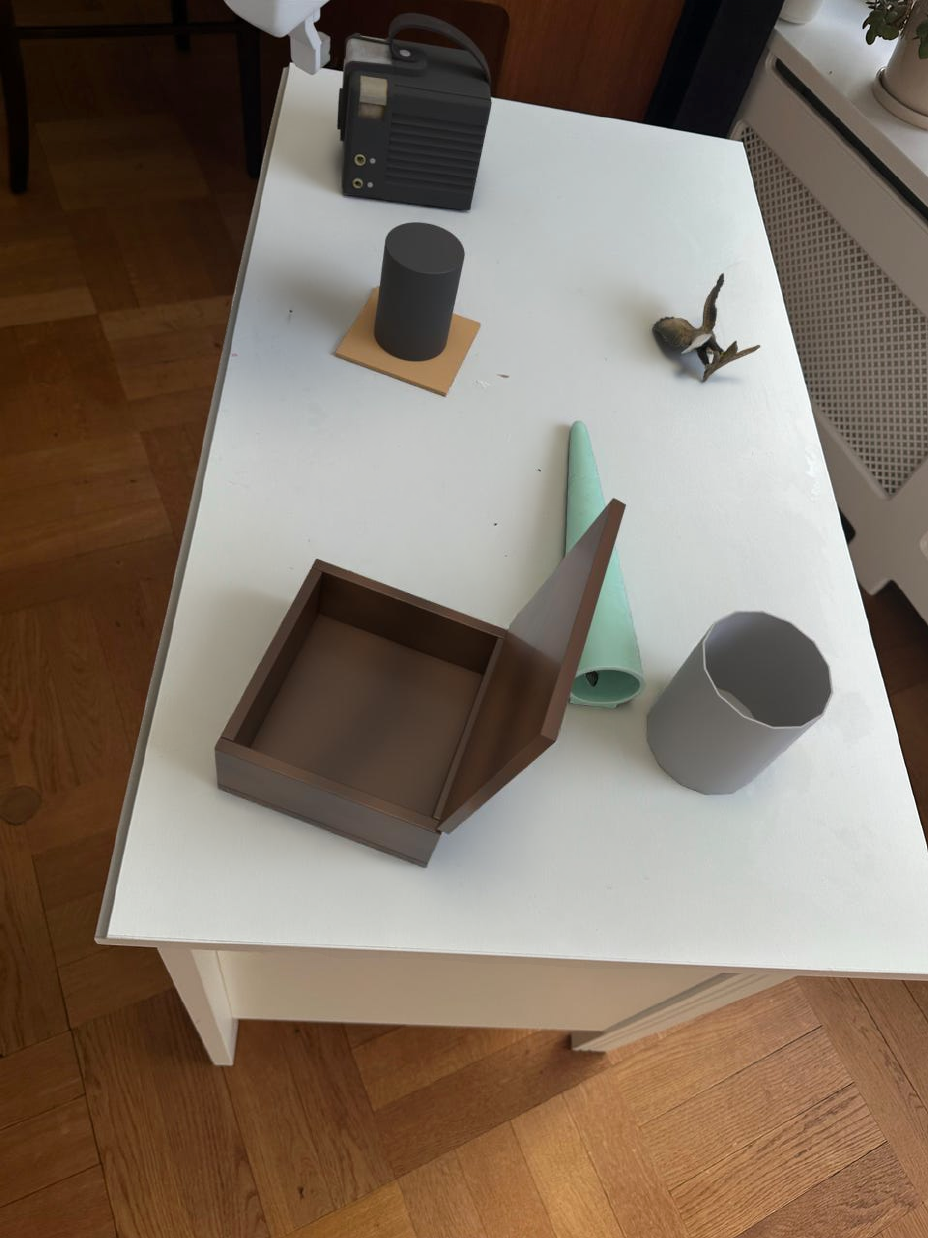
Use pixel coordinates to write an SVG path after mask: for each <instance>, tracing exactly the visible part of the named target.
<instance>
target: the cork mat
mask: <svg viewBox="0 0 928 1238" xmlns="http://www.w3.org/2000/svg"><path fill="white" fill-rule="evenodd" d="M379 286H380V285H376V287H375V289H374V290H373V292H372V294H371V295H370V296H369V299H368V300H367V301H366V302H365V305H364V306H363V308H362V310H361V311H360V313H359V314H358V316H357V317H356V319H355V321H354V322H353V324H352V326H351V327H350V329H349V330H348V331H347V333H346V335H345V336H344V338H343V339H342V340H341V343H340V344H339V346H338V348H337V349H336V351H335V354H334V356H335V357H337V358H340V359H343V360H346V361H349V362H351V363H354V364H355V365H359V366H361V367H365V368H367V369H370V370H373V371H375V372H378V373H381V374H384V375H386V376H389V377H391V378H394V379H397V380H400V381H402V382H405V383H408V384H411V385H413V386H417V387H419V388H422V389H424V390H427V391H429V392H432V393H435V394H437V395H440V396H443V397H446V396H447V394H448V393H449V390H450V388H451V386H452V384H453V383H454V380H455V378H456V377H457V374H458V372H459V370H460V369H461V366H462V364H463V362H464V360H465V358H466V356H467V354H468V352H469V350H470V348H471V346H472V345H473V342H474V340H475V338H476V336H477V334H478V332H479V330H480V329H481V326H482V323H481V322H479V321H475V320H473V319H470V318H468V317H464V316H462V315H459V314H457V313H454V312H453V315H452V320H451V324H450V329H449V334H448V339H447V344H446V347H445V349H444V350H443V352H442V353H441V354H439V355H438V356H437V357H435V358H433V359H430V360H426V361H407V360H402V359H399V358H397V357H394V356H392V355H390V354H389V353H387V352H386V351H385V350H383V349H382V348H381V347H380V346H379V344H378V343H377V341H376V339H375V336H374V326H375V318H376V310H377V302H378V294H379Z"/></svg>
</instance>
